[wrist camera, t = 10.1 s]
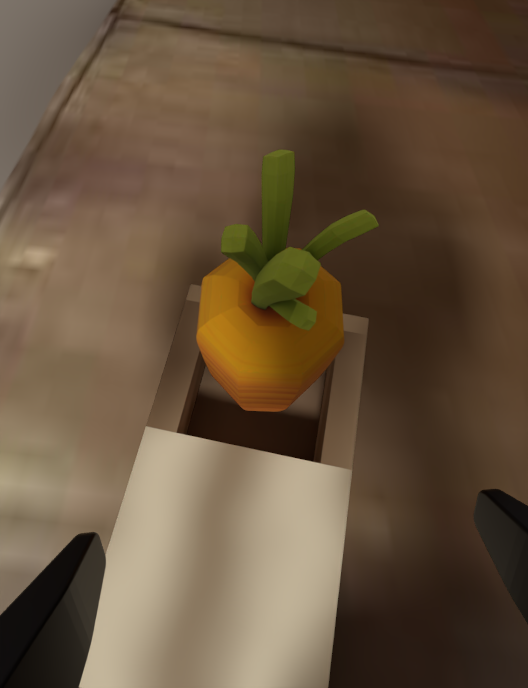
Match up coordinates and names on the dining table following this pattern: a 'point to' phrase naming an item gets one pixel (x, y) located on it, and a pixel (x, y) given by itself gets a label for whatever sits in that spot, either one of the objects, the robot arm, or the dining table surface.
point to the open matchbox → (227, 543)
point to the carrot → (273, 301)
